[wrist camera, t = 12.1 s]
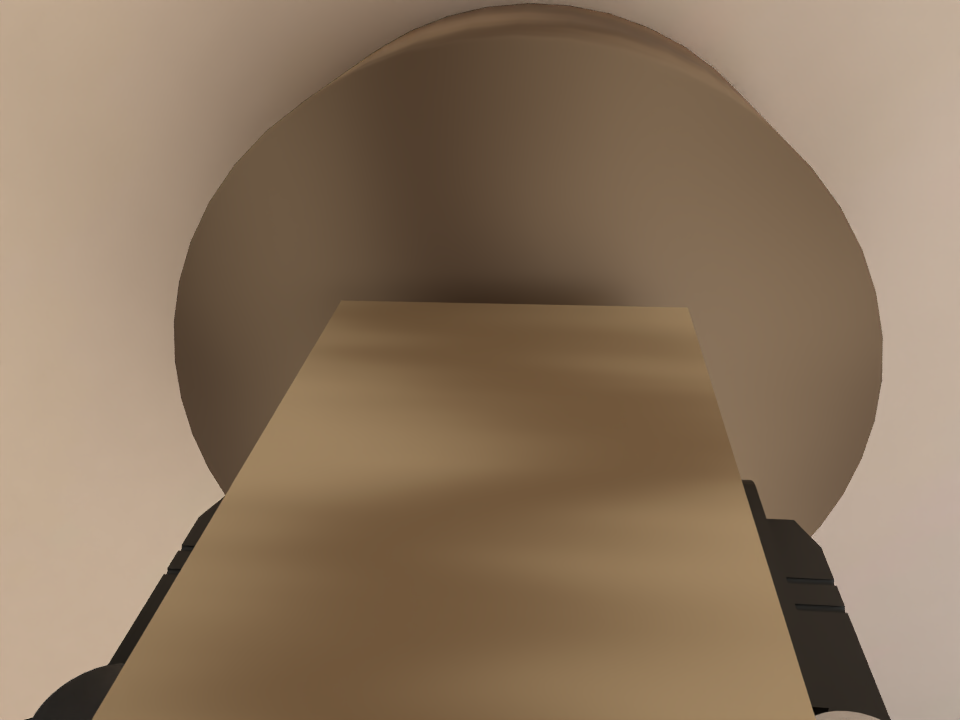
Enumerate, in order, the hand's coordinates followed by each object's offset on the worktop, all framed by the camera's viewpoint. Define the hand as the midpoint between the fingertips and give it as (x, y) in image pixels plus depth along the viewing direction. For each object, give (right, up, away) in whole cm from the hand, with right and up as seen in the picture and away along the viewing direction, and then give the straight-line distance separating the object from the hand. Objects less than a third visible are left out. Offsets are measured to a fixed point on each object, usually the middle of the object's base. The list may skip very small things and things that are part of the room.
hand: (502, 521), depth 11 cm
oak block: (0, +1, +1) cm, 2 cm away
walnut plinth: (+1, +4, +7) cm, 8 cm away
